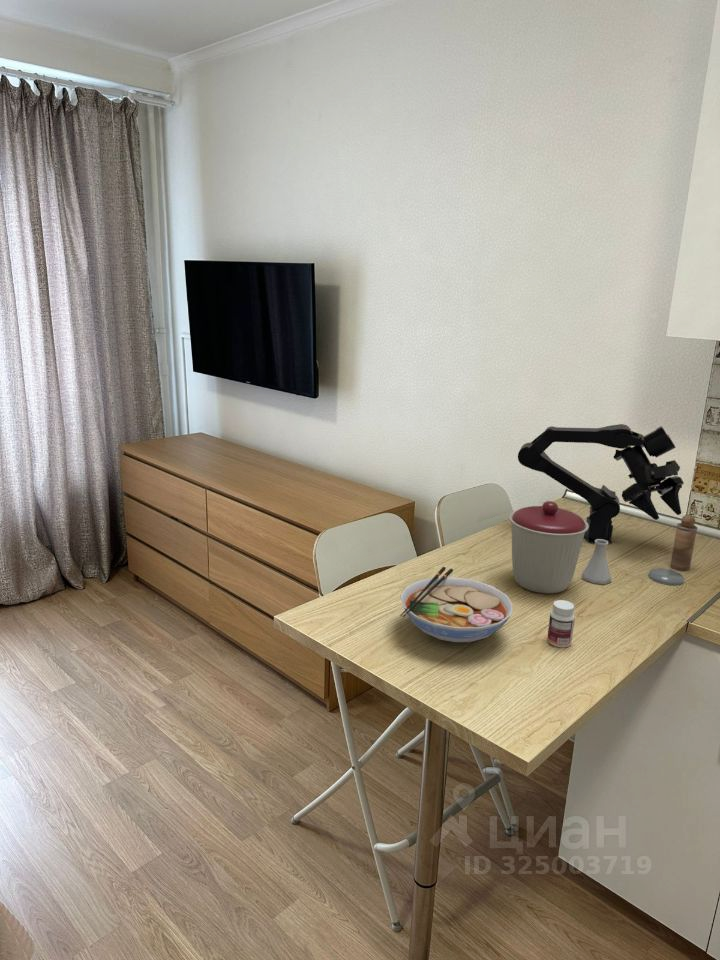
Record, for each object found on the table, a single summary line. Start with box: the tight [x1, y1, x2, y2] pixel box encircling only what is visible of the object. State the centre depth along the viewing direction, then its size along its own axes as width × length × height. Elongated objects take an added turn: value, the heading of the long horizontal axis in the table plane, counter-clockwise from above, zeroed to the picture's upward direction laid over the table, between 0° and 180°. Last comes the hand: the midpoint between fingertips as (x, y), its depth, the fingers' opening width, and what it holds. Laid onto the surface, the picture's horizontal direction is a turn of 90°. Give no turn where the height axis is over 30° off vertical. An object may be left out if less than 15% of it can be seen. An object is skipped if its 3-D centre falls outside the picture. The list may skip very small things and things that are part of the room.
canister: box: [508, 500, 589, 594], centre depth 158 cm, size 18×18×21 cm
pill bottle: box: [546, 599, 576, 648], centre depth 134 cm, size 5×5×8 cm
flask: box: [581, 539, 612, 585], centre depth 164 cm, size 7×7×10 cm
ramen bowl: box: [400, 566, 514, 643], centre depth 136 cm, size 25×23×8 cm
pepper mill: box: [669, 514, 698, 572], centre depth 171 cm, size 5×5×14 cm
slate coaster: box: [648, 567, 685, 586], centre depth 166 cm, size 8×8×1 cm
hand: (668, 516), depth 175 cm, fingers open, 9 cm apart
